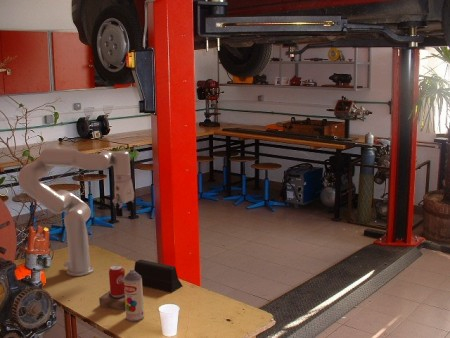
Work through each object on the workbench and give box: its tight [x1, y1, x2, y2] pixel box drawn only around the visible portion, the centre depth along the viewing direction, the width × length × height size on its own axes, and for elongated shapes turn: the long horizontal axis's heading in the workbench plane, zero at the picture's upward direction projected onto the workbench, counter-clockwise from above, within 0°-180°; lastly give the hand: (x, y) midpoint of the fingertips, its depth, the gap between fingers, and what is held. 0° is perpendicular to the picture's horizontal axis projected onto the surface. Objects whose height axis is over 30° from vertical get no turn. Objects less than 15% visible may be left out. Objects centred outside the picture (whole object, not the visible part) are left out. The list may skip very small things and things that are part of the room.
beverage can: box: [108, 264, 126, 297], centre depth 226 cm, size 6×6×12 cm
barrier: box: [133, 259, 183, 294], centre depth 247 cm, size 24×9×10 cm, turn 59°
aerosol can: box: [124, 268, 145, 323], centre depth 214 cm, size 7×7×20 cm
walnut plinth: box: [98, 290, 126, 312], centre depth 229 cm, size 12×12×4 cm
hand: (125, 213), depth 260 cm, fingers open, 9 cm apart
